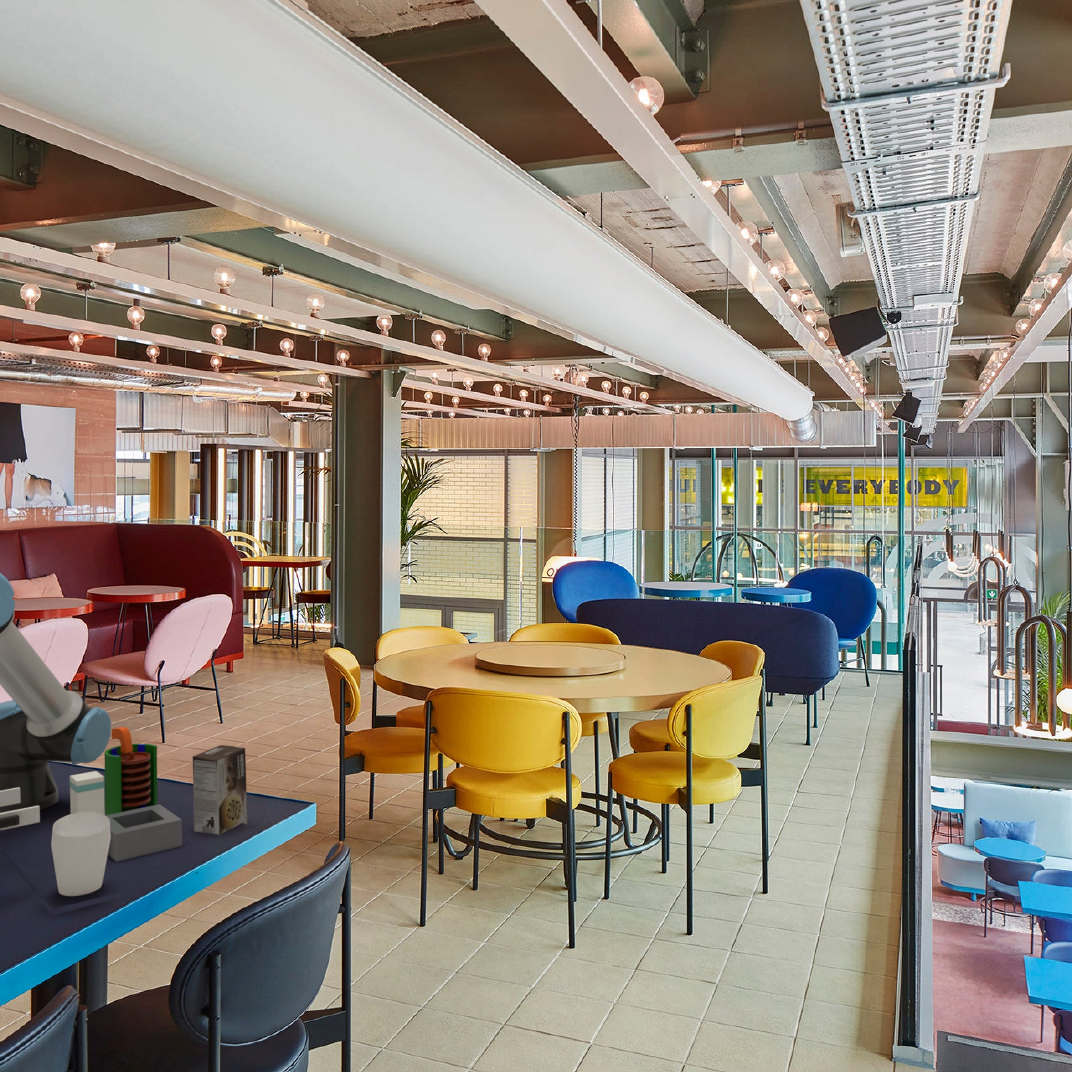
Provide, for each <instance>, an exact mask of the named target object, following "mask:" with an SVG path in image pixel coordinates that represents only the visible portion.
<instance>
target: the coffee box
mask: <svg viewBox="0 0 1072 1072" xmlns="http://www.w3.org/2000/svg"><path fill="white" fill-rule="evenodd" d="M246 760H247V759H246V747H238V746H235V745H225V744H221V745H218V746H215V747H213V748H210V749H208V750H204V751H202V752H200V753H198V754H195V755H192V783H193V784H192V786H193V787H192V788H193V789H192V790H193V826H194V828H193V829H194V832H198V833H204V834H209V835H210V834H211V835H212V834H213V835H222V834H224V833H227V832H228V831H230V830H232V829H233V828H236V827H238V826H239V825H241V824H244V825H245V826H247V825H248V799H247V797H248V795H247V794H248V793H247V765H246V764H247V763H246Z"/></svg>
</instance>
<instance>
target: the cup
mask: <svg viewBox="0 0 1072 1072" xmlns="http://www.w3.org/2000/svg"><path fill="white" fill-rule="evenodd" d="M110 838H111V835H110V820H109V818H108V817H107V816H105V815H103V814H100V813H95V812H81V813H74V814H71V813H70V814H68V815H67V814H66V815H65V816H63V817H61V818H59V819H58V820H56V821H55V822H54V823H53V825H52V835H51V842H50V843H51V844H50V845H51V853H52V859H53V864H54V865H53V866H54V871H55V872H54V873H55V877H56V878H55V879H56V884H57V891H58V893H59V894H60V895H61V896H65V897H76V896H84V895H87V894H91V893H93V892H95V891H98V890H99V889H101V887H102V885H103V882H104V877H105V872H106V865H107V860H108V856H109V855H108V850H109V845H110Z"/></svg>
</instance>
